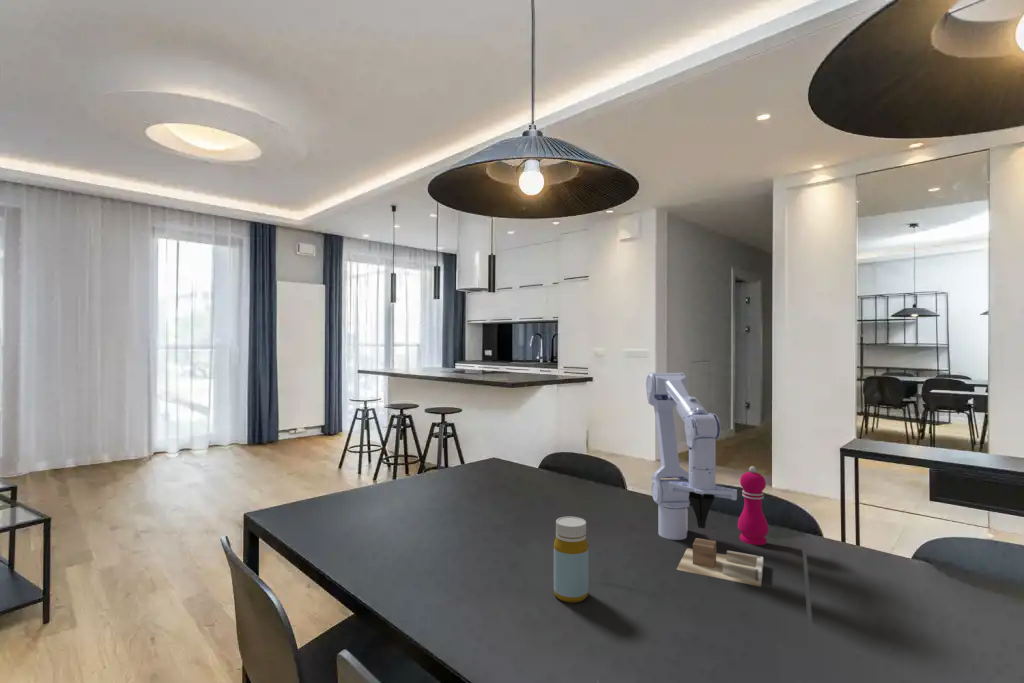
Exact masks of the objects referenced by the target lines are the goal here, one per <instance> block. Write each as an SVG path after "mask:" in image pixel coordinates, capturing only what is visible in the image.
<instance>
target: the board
mask: <svg viewBox="0 0 1024 683" xmlns="http://www.w3.org/2000/svg"><path fill="white" fill-rule="evenodd" d="M764 564H765V563H764V556H761V555H756V554H751V553H750V554H749V553H744V552H739V551H733V550H726V554H723V553H717V552H716V563H715V566H714V568H711V567H706V566H700V565H695V564H693V548H691V547H690V548H689V547H687V548H686V550H685V551H684V554H683V555H682V558H681V559H680V561H679V563H678V566H677V567H676V570H677V571H681V572H687V573H692V574H696V575H702V576H705V577H711V578H717V579H719V580H720V579H721V580H725V581H730V582H735V583H740V584H745V585H751V586H756V587H760V588H761V587H762V583H763V582H762V581H763V580H762V579H763V571H764Z"/></svg>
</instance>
